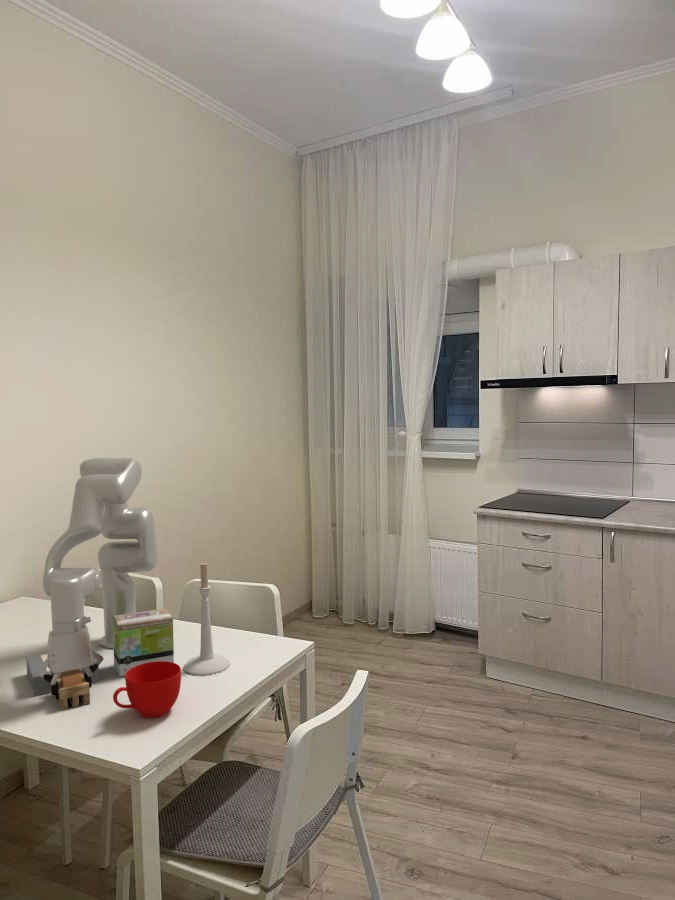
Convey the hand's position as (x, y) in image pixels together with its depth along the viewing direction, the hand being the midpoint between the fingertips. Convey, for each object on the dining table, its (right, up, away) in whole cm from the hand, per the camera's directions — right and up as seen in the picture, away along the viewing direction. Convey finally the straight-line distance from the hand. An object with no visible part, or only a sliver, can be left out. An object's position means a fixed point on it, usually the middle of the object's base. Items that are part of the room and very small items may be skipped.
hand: (71, 693), depth 165 cm
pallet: (0, -1, 0) cm, 1 cm away
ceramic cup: (+22, -2, -9) cm, 24 cm away
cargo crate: (0, +3, 0) cm, 3 cm away
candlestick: (+30, 0, +19) cm, 36 cm away
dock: (-8, -1, +13) cm, 15 cm away
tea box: (+12, 0, +20) cm, 24 cm away
